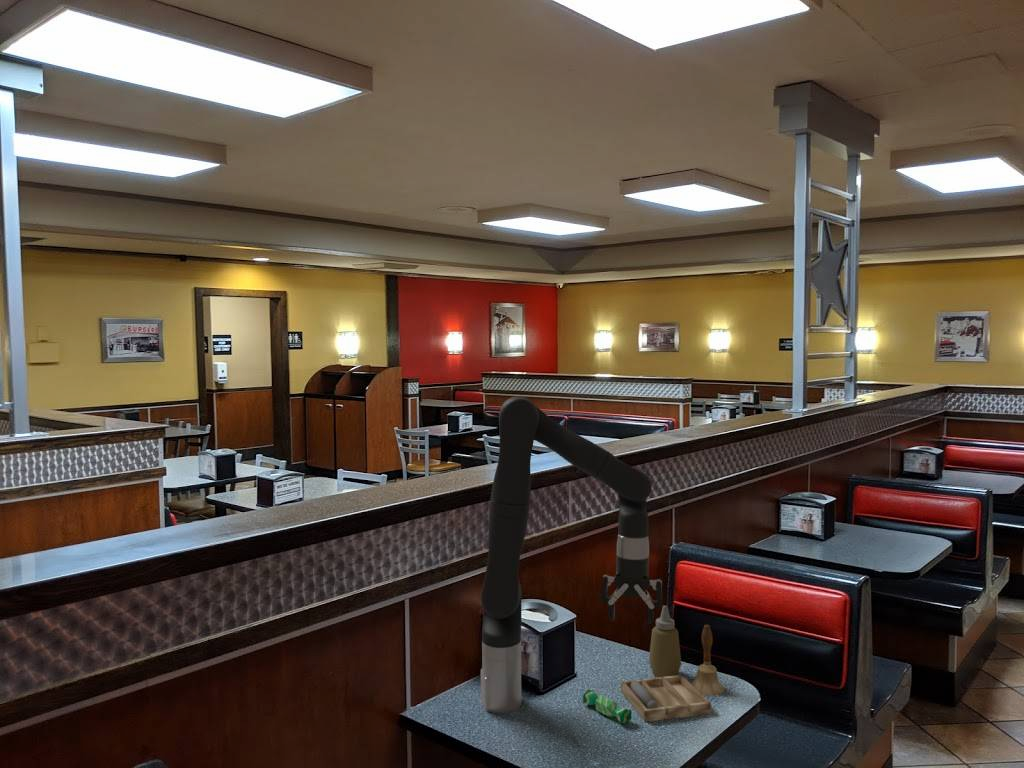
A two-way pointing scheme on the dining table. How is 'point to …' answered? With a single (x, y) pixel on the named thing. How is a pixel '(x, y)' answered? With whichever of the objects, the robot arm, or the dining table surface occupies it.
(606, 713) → the candy
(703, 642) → the hand bell
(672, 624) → the squeeze bottle
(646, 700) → the grey capsule rod
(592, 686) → the dining table surface
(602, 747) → the dining table surface
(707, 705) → the wooden compartment tray
